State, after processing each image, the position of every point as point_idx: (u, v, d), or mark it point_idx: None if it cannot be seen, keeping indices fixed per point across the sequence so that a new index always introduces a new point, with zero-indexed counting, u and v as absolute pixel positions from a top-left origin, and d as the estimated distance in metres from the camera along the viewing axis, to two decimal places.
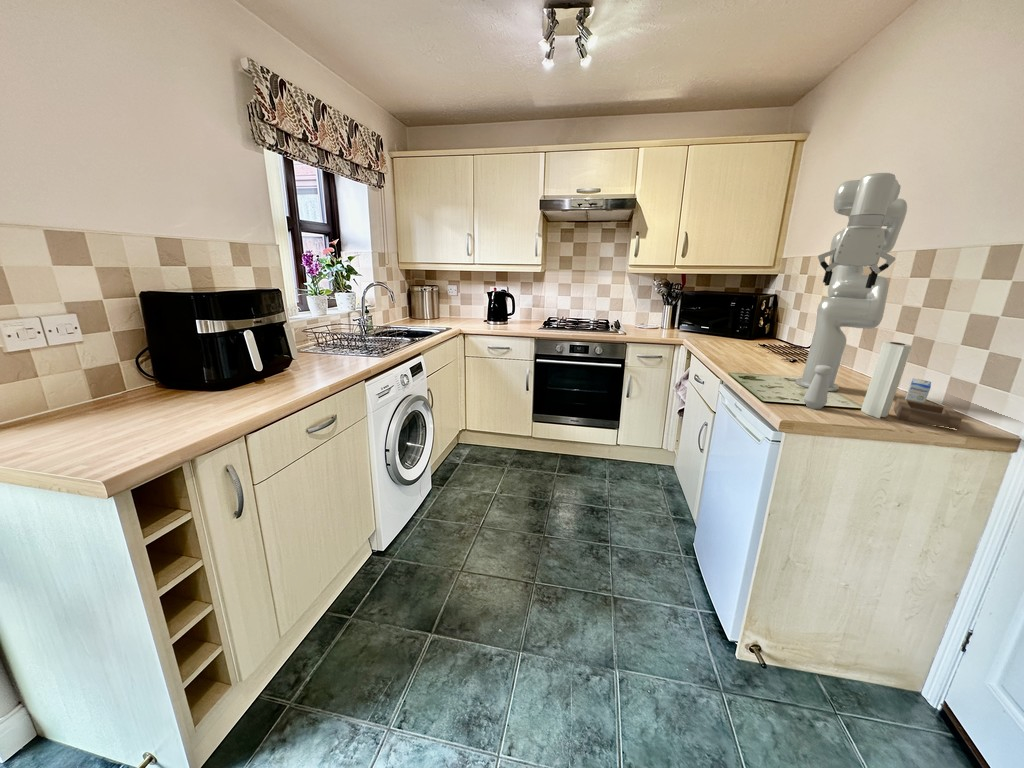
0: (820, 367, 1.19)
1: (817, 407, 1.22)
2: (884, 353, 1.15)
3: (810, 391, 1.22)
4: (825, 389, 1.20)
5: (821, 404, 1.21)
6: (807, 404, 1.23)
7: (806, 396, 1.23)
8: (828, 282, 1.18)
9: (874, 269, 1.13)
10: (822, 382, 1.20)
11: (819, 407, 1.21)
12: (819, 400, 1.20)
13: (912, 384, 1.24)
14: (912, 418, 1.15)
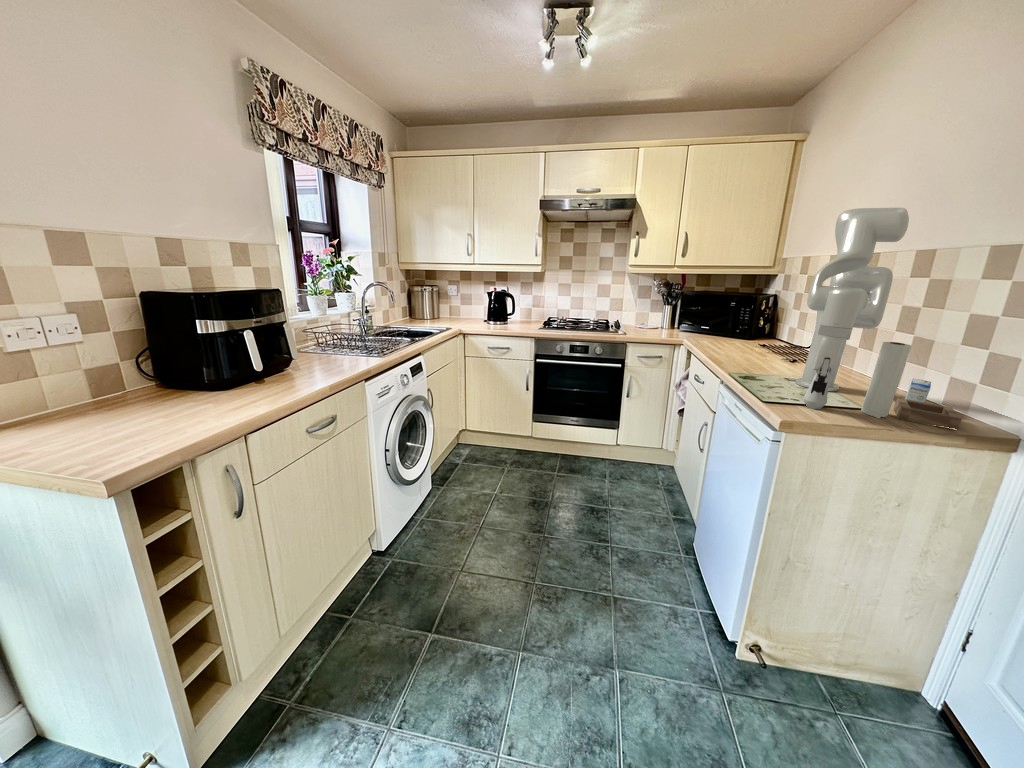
0: (820, 367, 1.19)
1: (817, 407, 1.22)
2: (884, 353, 1.15)
3: (810, 391, 1.22)
4: (825, 389, 1.20)
5: (821, 404, 1.21)
6: (807, 404, 1.23)
7: (806, 396, 1.23)
8: None
9: None
10: None
11: (819, 407, 1.21)
12: (819, 400, 1.20)
13: (912, 384, 1.24)
14: (912, 418, 1.15)
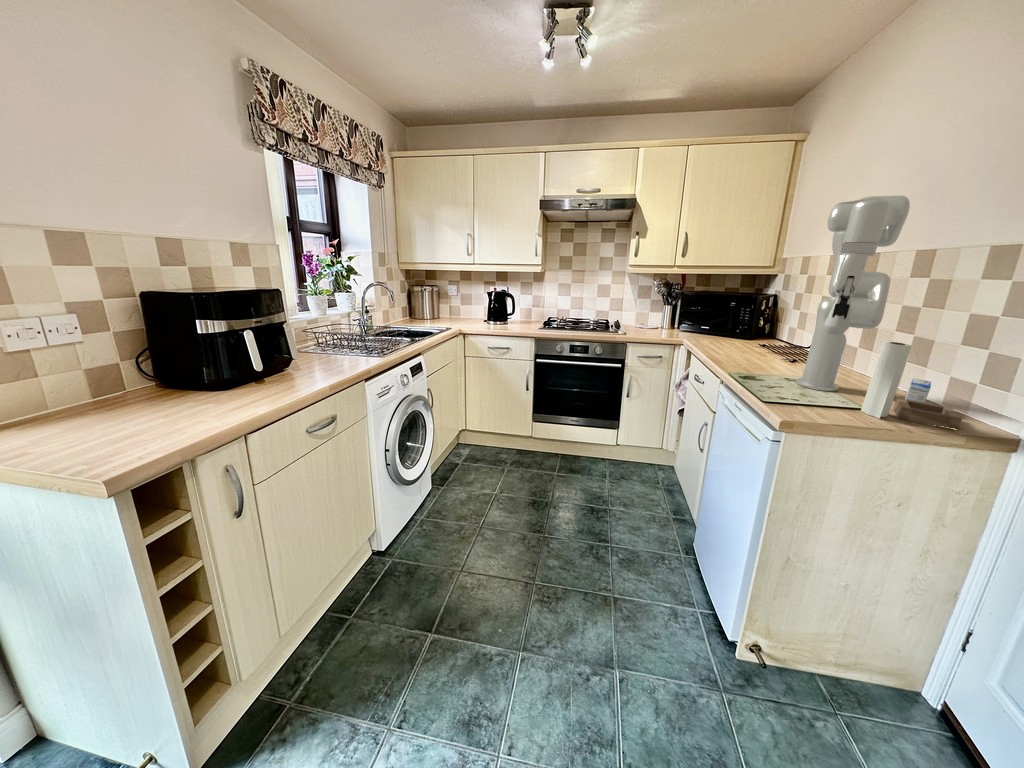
0: (842, 289, 1.13)
1: (839, 332, 1.15)
2: (884, 353, 1.15)
3: (831, 316, 1.16)
4: None
5: (843, 328, 1.14)
6: (828, 330, 1.17)
7: (827, 322, 1.17)
8: None
9: None
10: None
11: (841, 332, 1.15)
12: (841, 324, 1.14)
13: (912, 384, 1.24)
14: (912, 418, 1.15)
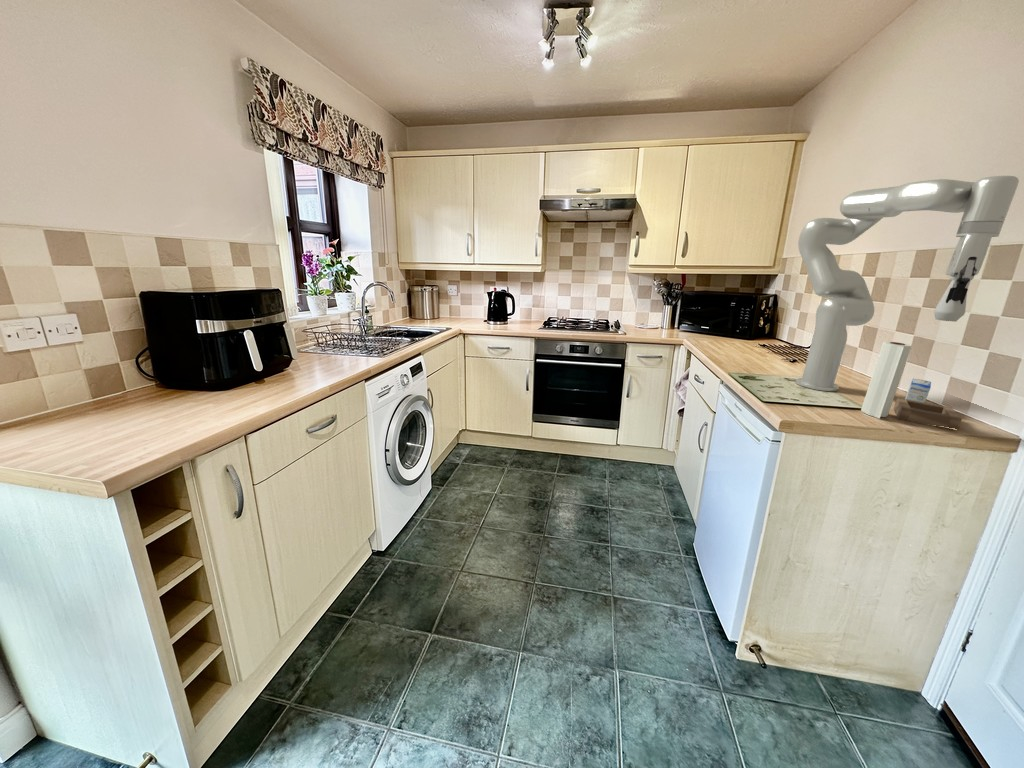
0: None
1: (953, 319, 1.08)
2: (884, 353, 1.15)
3: (945, 301, 1.09)
4: None
5: (959, 314, 1.07)
6: (940, 316, 1.10)
7: (939, 307, 1.10)
8: None
9: None
10: None
11: (956, 318, 1.08)
12: (957, 310, 1.07)
13: (912, 384, 1.24)
14: (912, 418, 1.15)
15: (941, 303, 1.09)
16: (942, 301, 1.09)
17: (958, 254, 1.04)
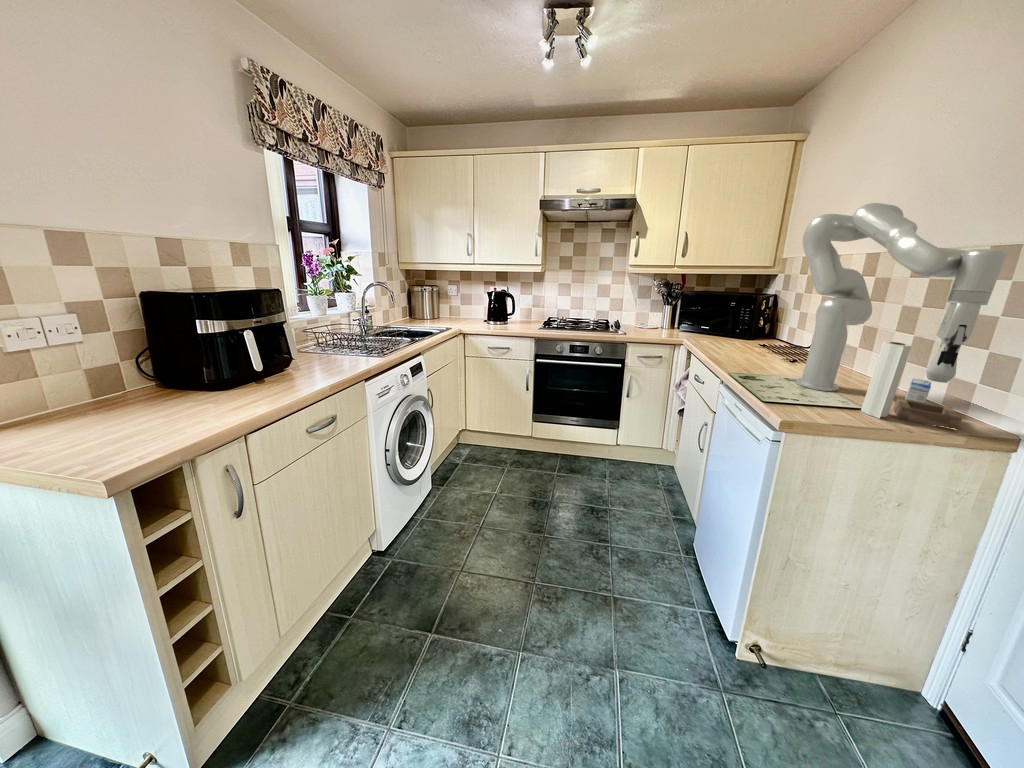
0: None
1: (944, 380, 1.13)
2: (884, 353, 1.15)
3: (936, 363, 1.13)
4: None
5: (950, 377, 1.12)
6: (932, 377, 1.14)
7: (931, 369, 1.14)
8: None
9: None
10: None
11: (947, 380, 1.12)
12: (948, 372, 1.11)
13: (912, 384, 1.24)
14: (912, 418, 1.15)
15: (933, 364, 1.14)
16: (934, 363, 1.14)
17: (949, 321, 1.08)
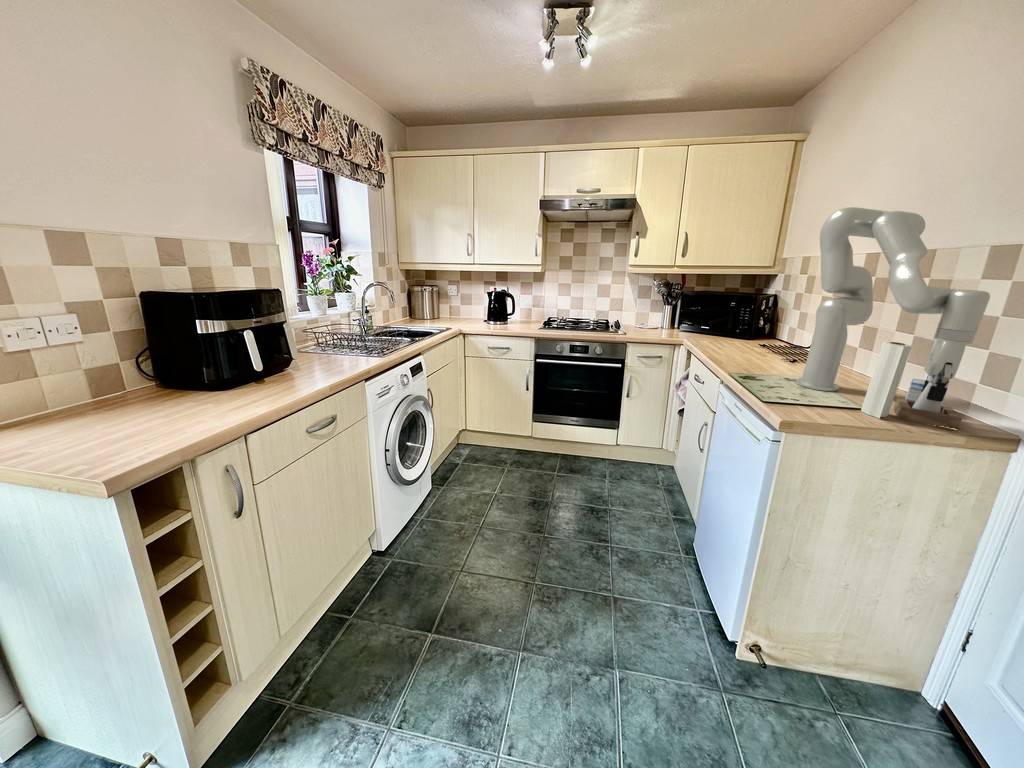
0: None
1: None
2: (884, 353, 1.15)
3: (922, 401, 1.16)
4: None
5: None
6: None
7: (917, 406, 1.18)
8: None
9: None
10: None
11: None
12: (933, 411, 1.15)
13: (912, 384, 1.24)
14: (912, 418, 1.15)
15: (919, 402, 1.17)
16: (920, 400, 1.17)
17: (935, 358, 1.11)
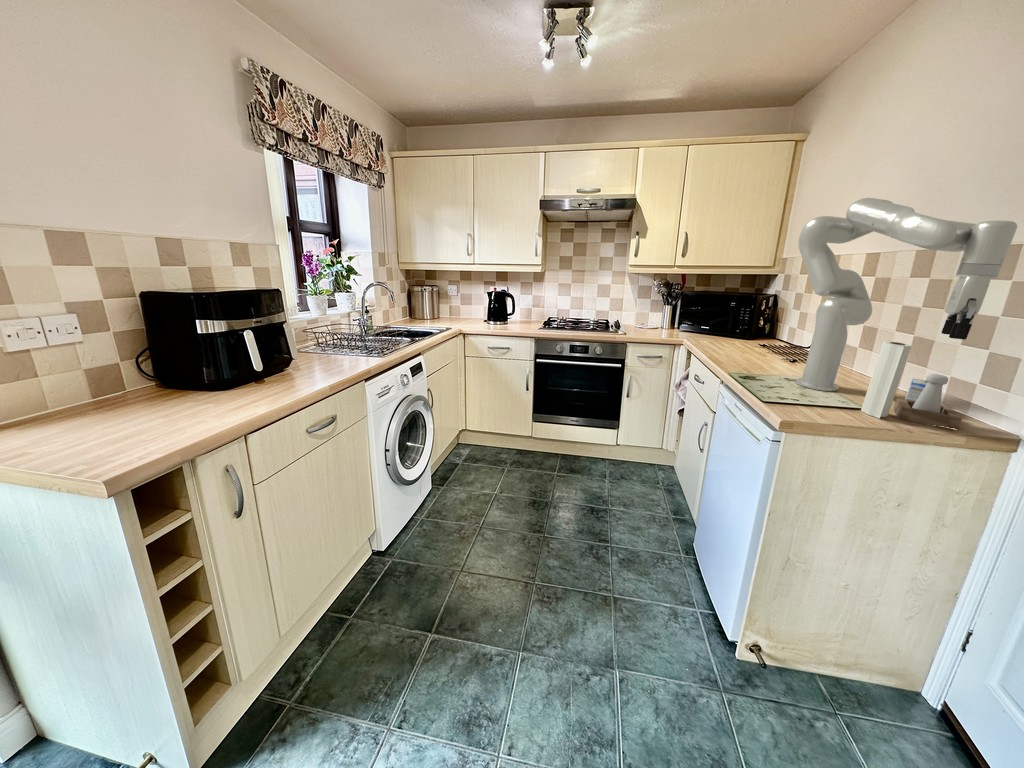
0: (934, 376, 1.14)
1: None
2: (884, 353, 1.15)
3: (921, 401, 1.17)
4: (939, 399, 1.14)
5: None
6: None
7: (916, 406, 1.18)
8: None
9: None
10: (936, 392, 1.14)
11: None
12: (932, 411, 1.15)
13: (912, 384, 1.24)
14: (912, 418, 1.15)
15: (918, 402, 1.17)
16: (919, 401, 1.17)
17: (958, 295, 1.06)
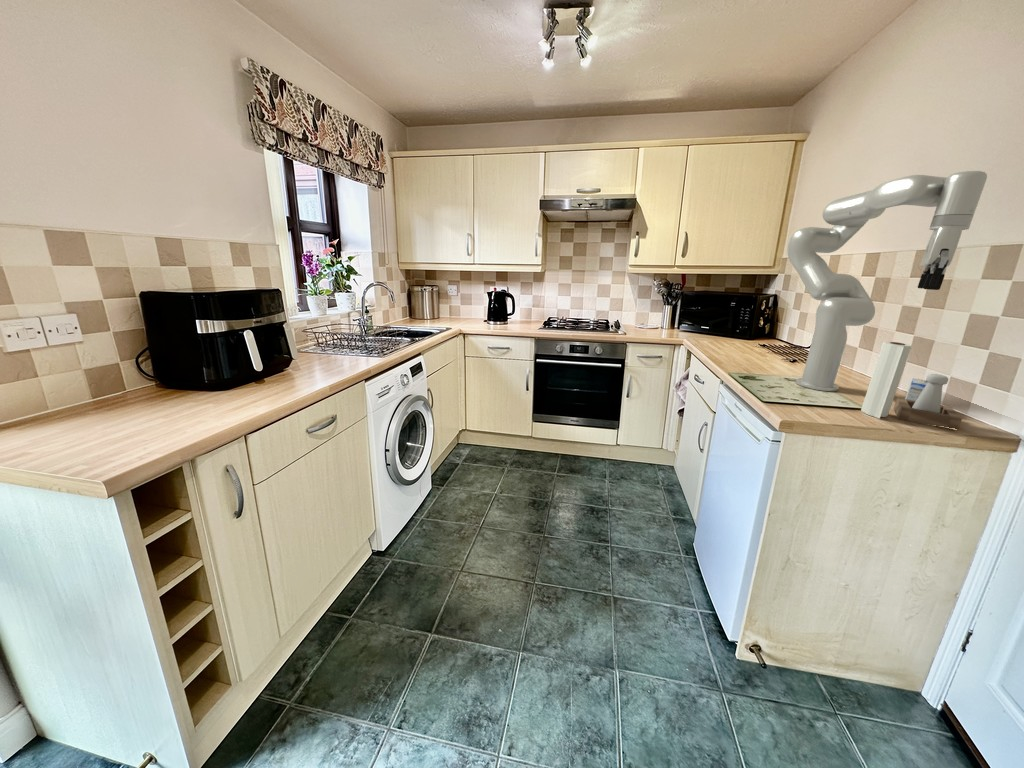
0: (934, 376, 1.14)
1: None
2: (884, 353, 1.15)
3: (921, 401, 1.17)
4: (939, 399, 1.14)
5: None
6: None
7: (916, 406, 1.18)
8: None
9: None
10: (936, 392, 1.14)
11: None
12: (932, 411, 1.15)
13: (912, 384, 1.24)
14: (912, 418, 1.15)
15: (918, 402, 1.17)
16: (919, 401, 1.17)
17: (931, 246, 1.09)
